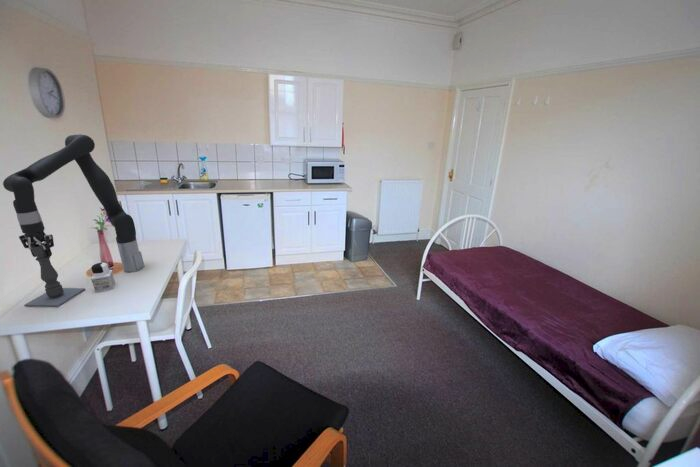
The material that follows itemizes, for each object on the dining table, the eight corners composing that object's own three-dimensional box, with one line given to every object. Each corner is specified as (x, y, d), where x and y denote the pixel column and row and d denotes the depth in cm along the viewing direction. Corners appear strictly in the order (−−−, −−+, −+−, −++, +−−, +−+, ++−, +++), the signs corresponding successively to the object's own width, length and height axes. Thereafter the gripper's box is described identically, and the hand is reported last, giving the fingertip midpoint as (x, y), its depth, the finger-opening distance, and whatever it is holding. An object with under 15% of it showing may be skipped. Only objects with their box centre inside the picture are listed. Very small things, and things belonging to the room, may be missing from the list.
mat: (85, 290, 168) (85, 288, 167) (58, 307, 153) (57, 305, 152) (55, 289, 168) (54, 287, 168) (24, 306, 153) (24, 304, 153)
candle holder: (54, 297, 156) (36, 248, 148) (43, 296, 158) (25, 247, 149) (67, 290, 162) (51, 243, 154) (56, 289, 163) (40, 242, 155)
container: (94, 292, 165) (87, 268, 161) (97, 285, 172) (90, 262, 168) (113, 288, 169) (107, 265, 164) (115, 282, 175) (109, 260, 171)
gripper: (53, 218, 151) (64, 253, 157) (23, 218, 152) (35, 253, 157) (38, 224, 144) (50, 259, 150) (6, 223, 145) (19, 259, 150)
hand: (42, 256), depth 153 cm, fingers closed on candle holder, 5 cm apart
